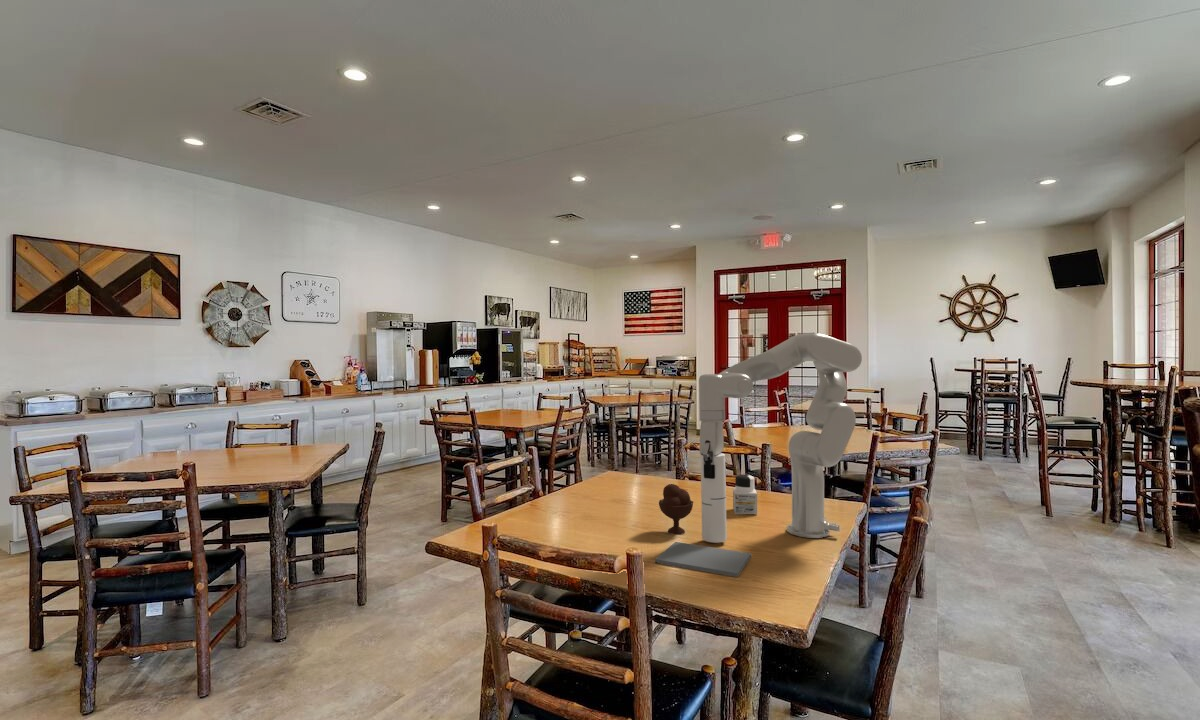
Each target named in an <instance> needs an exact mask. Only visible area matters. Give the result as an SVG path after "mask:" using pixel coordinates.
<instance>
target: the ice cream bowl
mask: <svg viewBox="0 0 1200 720" xmlns="http://www.w3.org/2000/svg"><path fill="white" fill-rule="evenodd" d="M662 496H663V499H659V501H658V506H659V509H660V511H661V512H662V513H663V515H664V516H666V517H667V518H669V519H671V520H672V522H673V526H671V527H670V528H668V530H667V533H668V534H670V535H675V536H676V535H677V536H678V535H683V534H685V533H686V531H685V529H684V528H682V527H680V520H682V519H685V518H686V517H688V516H689V515H690V514H691V512H692V510H693V506H694V501H692V500H691V495H690V494H689V492H688V491H687V490H685V489H684V488H681V487H680V486H679V485H677V484H675V483H670V484H667V485H665V486H664V488H663V490H662Z"/></svg>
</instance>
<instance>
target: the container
mask: <svg viewBox="0 0 1200 720" xmlns="http://www.w3.org/2000/svg"><path fill="white" fill-rule="evenodd" d="M732 490H733V491H732V497H733V499H732V504H733V505H732V507H733V513H734V514H735V515H742V514H757V515H758V493H757V491H756V488H755V477H754V476H752V475H750V474H738V475H736V476H735V487H733V488H732Z"/></svg>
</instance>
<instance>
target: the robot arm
mask: <svg viewBox="0 0 1200 720" xmlns="http://www.w3.org/2000/svg"><path fill="white" fill-rule="evenodd" d="M862 360H863V356H862V353H861V351H860V349H859V348H858V347H857V346H856V345H854V344H852V343H849V342H847V341H844V340H840V339H837V338H835V337H833V336H832V337H831V335H830V336H829V335H826V334H824V333H823V334H822V333H819V332H813V333H799V334H796V335H793V336H792V337H790V338H788V339H786V340H784V341H782V342H781V343H779V344H777V345H775V346H774V347H772V348H770V349H768V350H767V351H764V352H762V353H759V354H756V355H754V356H751V357H750V358H747V359H745V360H743V361H740V362H738V363H735V364H734V365H731V366H729V367H727V368H726V369H724V370H722V371H721V372H719V373H715V374H714V373H712V374H711V373H710V374H709V373H708V374H701V375H700V376H699V378H698V404H699V405H698V407H699V411H698V412H699V416H698V417H699V422H700V428H699V429H700V430H699V451H698V452H699V455H700V456H701V455H703V459H704V461H703V464H704V478H709V479H714V478H715V465H714V457H715V455H717V454H719V453H723V451H724V446H725V445H724V444H725V443H724V425H723V423H724V422H726V398H732V399H745V398H747V397H748V396H749V395H750V394H752V392H753V390H754V389H753V388H754V383H755V382H759V381H765V380H771V379H774V378H777V377H780V376H782V375H784V374H786V373H787V372H789V371H791V370H793V369H794V368H797V367H798V366H800V365H801V364H803V363H805V362H813V365H814V367H815V369H816V371H817V374H818V380H819V383H818V385H817V389H816V391H815V392H814V396H813V399H812V400H811V402H810V405H809V408H808V410H807V412H806V416H805V420H806V423H807V425H808V427H810V428H812V429H814V430H817V431H820V433H819V432H815V431H810V430H809V431H808V430H800V431H796V433H794V434H793V435H792V436H790V439H789V442H788V454H789V459H790V464H791V523H790V524H788V525H787V526H786V531H787V532H788V533H789V534H791V535H793V536H797V537H800V538H808V539H822V538H823V537H824V538H827V537H828V536H830V534H831V532H830V531H834V532H840V530H841V527H840V526H841V525H840V524H837V523H836V522H828V521H827V517H825V474H824V468H831V467H834V466H836V465H837V464H838V463H839V462H840V461H841V459H842V458H843V456H844V453H845V451H846V449H847V447H848V444H849V442H850V439H851V437H852V435H853V433H854V430H855V427H856V421H857V417H856V413H855V411H854V408H852V406H851V405H849V404H847V403H844V400H845V397H846V394H847V391H848V384H847V380H846V377H845V374H844V373H850V372H853V371H856V370H857V369H858V368H859V367H860V366H861V364H862ZM709 453H712V454H709ZM709 456H710V457H711V458H710V457H709ZM823 467H824V468H823Z"/></svg>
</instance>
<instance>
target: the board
mask: <svg viewBox="0 0 1200 720" xmlns="http://www.w3.org/2000/svg"><path fill="white" fill-rule="evenodd" d="M751 559H752V552H751V553H750V552H744V551H738V550H732V549H725V548H719V547H711V546H706V545H705V546H704V545H699V544H693V543H688V542H680V541H674V542H673V543H672V544H670V546H668V547H667V548H666V549H665V550H664V551H663V552H662V553H660V554H659V555H658V556H657V557H656V558H654V563H655V562H657V563H656V564H659V563H662V564H661V565H665V564H666V566H671V565H672V566H671V567H676V566H677V568H682V569H683V568H684V569H688V570H693V571H694V570H695V571H700V572H704V573H705V572H706V573H710V572H711V574H718V575H723V576H728V577H734V578H738V577H739V576H740V574H741V573H742V571H743V570H744V568H746V565H747V564H748V563H749V561H750V560H751Z"/></svg>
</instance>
